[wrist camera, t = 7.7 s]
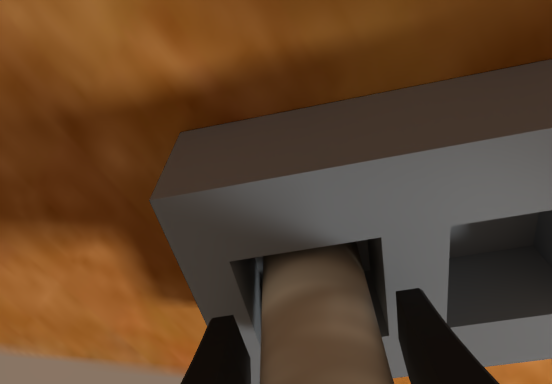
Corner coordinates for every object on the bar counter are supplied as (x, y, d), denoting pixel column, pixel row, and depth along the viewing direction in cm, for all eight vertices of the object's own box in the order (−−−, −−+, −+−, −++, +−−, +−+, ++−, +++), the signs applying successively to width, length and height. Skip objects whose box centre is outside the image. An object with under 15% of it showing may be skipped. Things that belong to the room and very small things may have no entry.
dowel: (348, 192, 13) (424, 451, 7) (355, 262, 15) (420, 522, 9) (256, 206, 14) (240, 468, 7) (272, 272, 15) (271, 533, 9)
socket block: (595, 50, 12) (721, 97, 9) (546, 267, 17) (615, 351, 13) (180, 132, 13) (149, 200, 10) (245, 310, 18) (239, 396, 15)
